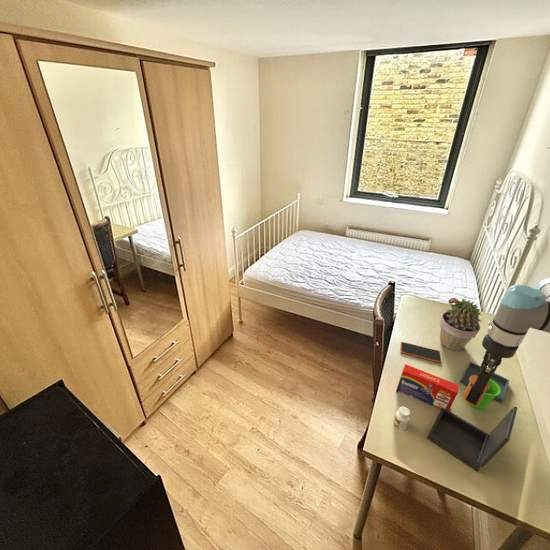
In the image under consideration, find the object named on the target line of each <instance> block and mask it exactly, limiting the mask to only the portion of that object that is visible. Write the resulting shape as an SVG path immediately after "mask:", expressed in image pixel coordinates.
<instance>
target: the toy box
mask: <svg viewBox="0 0 550 550" xmlns="http://www.w3.org/2000/svg"><path fill="white" fill-rule="evenodd" d="M395 392H396V393H399V392H400V393H402V394H404V395H406V396H409V397H411V398H412V399H413V398H414V399H415V400H418V401H420V402H422V403H425V404H427V405H429V406H432V407H434V408H436V409H438V410H441V409H442V407H443V408H445V409H446V410H448V411H450V410H451V407H452V406H453V404H454V401H456V400H455V399H456V398H457V395H458V393H459V384H457V383H455V382H452V381H451V380H447V379H444V378H442V377H439V376H437V375H434V374H432V373H430V372H427V371H424V370H422V369H419V368H416V367H414V366H411V365H409V364H406V363H404V366H403V368H402V372H401V375H400V377H399V381H398V384H397V386H396V390H395Z"/></svg>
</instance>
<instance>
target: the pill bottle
mask: <svg viewBox="0 0 550 550" xmlns="http://www.w3.org/2000/svg"><path fill="white" fill-rule="evenodd" d="M410 415H411V410H410V409H409V408H407V407H406V406H400V407H399V408H398V410H397V411H396V413H395V414H394V417H393V425H394V426H395V428H397V429H398V430H402V431H404V430H406V429H407V428H408V425H409V422H410V420H411V419H410V417H411V416H410Z"/></svg>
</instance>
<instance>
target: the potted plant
mask: <svg viewBox="0 0 550 550" xmlns="http://www.w3.org/2000/svg"><path fill="white" fill-rule="evenodd" d="M447 301H448V302H447V303H448V304H449V306H450V309H449V308H448V309H447V310H446V309H445V310H446V311H445V312H441V311H440V313H442V314H441V316H440V320H439V327H440V333H439V335H440V336H439V340H440V343H441V345H442V346H443V347H445V348H447V349H449V350H452V351H457V352H458V351H461V350H463V349H464V348H465V347H466V346H467V344H469V342H470V341H472V339H475V338H476V337H477V335H478V333H479V332H481V333H482V331H481V325H480V323H482V324H483V323H484V322H483V319H480V318H479V316H480V315H482V314H481V312H480V310H481V309H480V308H479V306H478V304H477V303H475V301H471V300H470V299H469V300H468V301H467V299H465V298H462V299H461V301H460V298H456V297H452V298H449V300H447Z"/></svg>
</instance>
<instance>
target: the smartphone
mask: <svg viewBox="0 0 550 550" xmlns="http://www.w3.org/2000/svg"><path fill="white" fill-rule="evenodd" d="M400 354H405V355H409V356H412V357H416V358H420V359H424V360H428V361H432V362H436V363H439V364H440V363H442V356H441V351H440V350H438V349H434V348H429V347H424V346H421V345H416V344H413V343H410V342H409V343H408V342H404V341H401V342H400Z"/></svg>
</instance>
